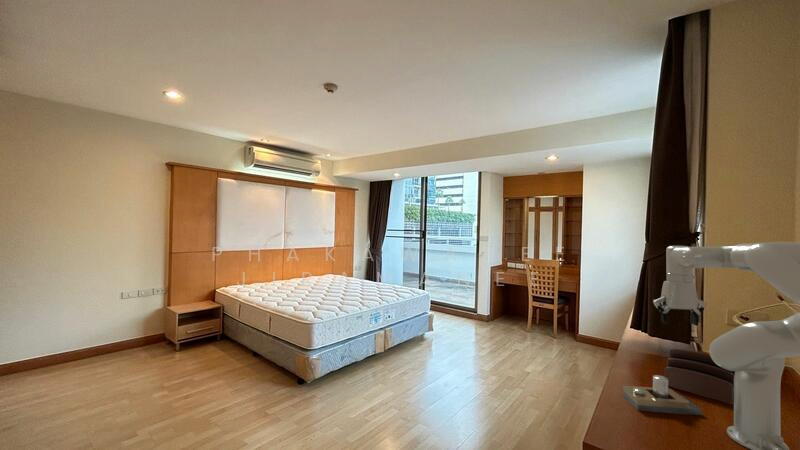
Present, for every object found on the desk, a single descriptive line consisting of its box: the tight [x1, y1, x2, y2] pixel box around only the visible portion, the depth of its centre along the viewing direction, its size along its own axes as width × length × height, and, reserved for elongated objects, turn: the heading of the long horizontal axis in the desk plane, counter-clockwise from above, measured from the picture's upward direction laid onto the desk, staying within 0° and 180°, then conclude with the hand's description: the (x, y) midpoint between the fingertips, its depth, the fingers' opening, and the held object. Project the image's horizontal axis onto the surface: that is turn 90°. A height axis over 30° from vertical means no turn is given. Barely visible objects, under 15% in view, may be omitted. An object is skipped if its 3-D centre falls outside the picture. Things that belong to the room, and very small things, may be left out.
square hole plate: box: [622, 385, 703, 416], centre depth 119 cm, size 20×10×5 cm, turn 80°
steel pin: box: [652, 374, 669, 399], centre depth 119 cm, size 4×4×10 cm
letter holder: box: [664, 348, 736, 406], centre depth 129 cm, size 10×20×14 cm, turn 40°
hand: (679, 323), depth 123 cm, fingers open, 9 cm apart
